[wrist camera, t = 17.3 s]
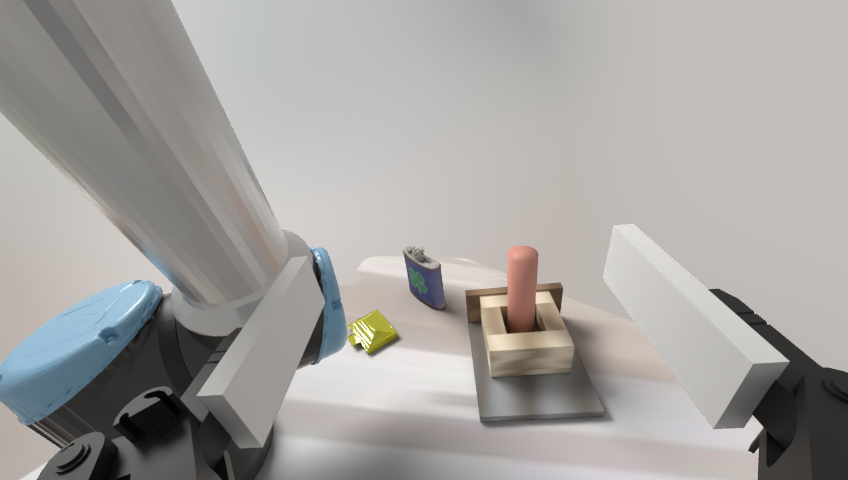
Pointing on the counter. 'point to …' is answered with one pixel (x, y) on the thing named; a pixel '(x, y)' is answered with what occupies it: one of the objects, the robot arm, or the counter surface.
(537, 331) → the socket block
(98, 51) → the robot arm
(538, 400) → the grey fixture base
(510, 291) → the dowel
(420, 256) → the flask
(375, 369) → the counter surface
